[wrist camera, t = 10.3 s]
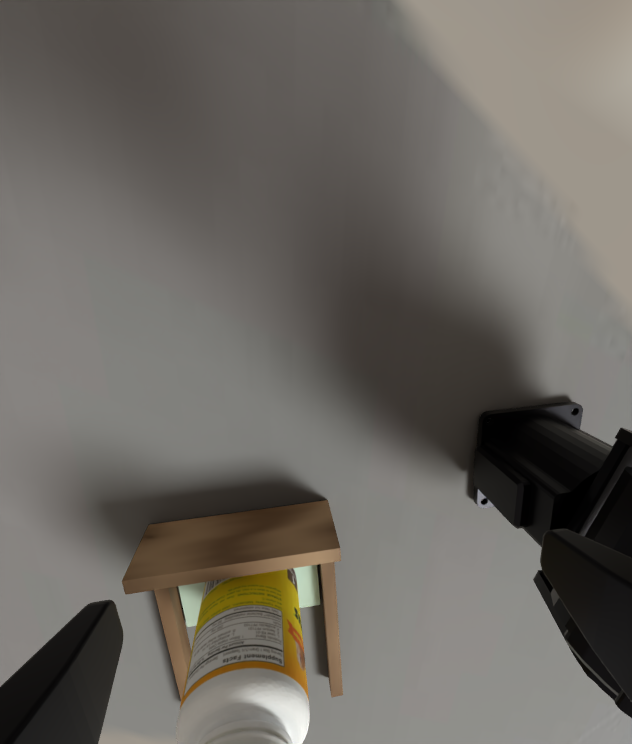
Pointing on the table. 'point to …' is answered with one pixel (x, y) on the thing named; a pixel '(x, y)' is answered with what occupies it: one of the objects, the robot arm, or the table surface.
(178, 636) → the bay
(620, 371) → the table surface
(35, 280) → the table surface
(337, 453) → the table surface
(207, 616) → the supplement bottle
